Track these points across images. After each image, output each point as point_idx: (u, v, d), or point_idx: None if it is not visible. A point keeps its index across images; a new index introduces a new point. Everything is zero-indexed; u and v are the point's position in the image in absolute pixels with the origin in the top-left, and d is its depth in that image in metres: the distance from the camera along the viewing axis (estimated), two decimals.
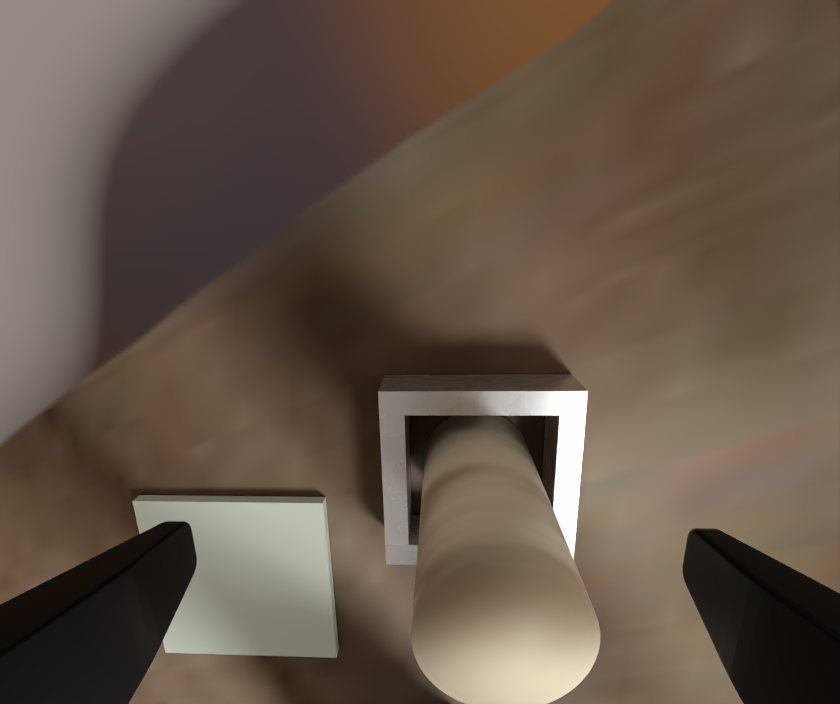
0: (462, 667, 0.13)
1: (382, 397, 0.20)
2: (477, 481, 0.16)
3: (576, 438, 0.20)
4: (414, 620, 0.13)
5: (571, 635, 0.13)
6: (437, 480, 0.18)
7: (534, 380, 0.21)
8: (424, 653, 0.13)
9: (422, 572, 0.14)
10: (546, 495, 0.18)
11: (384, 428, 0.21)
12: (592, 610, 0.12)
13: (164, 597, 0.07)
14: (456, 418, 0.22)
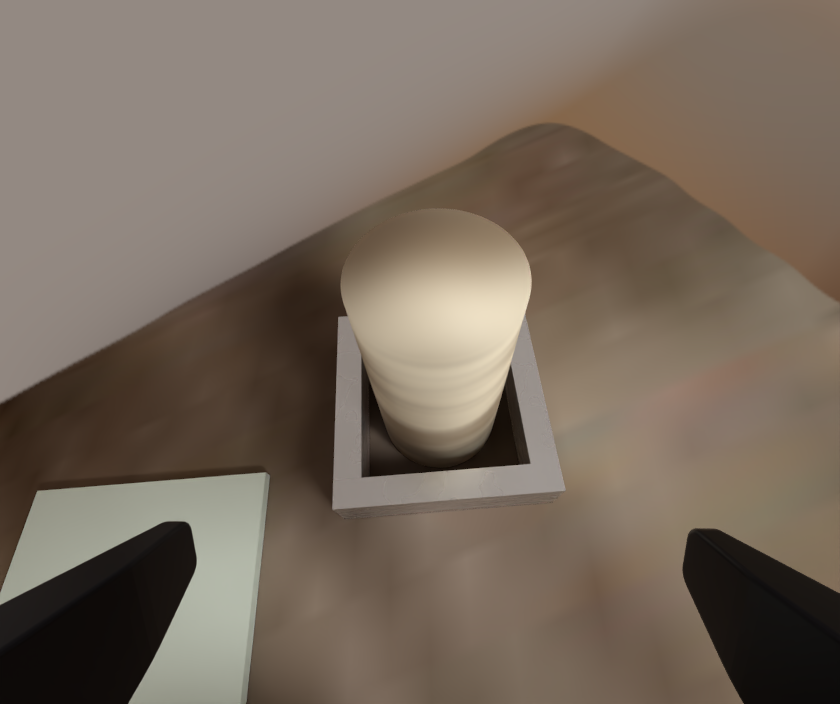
0: (394, 308, 0.12)
1: (341, 321, 0.22)
2: None
3: (524, 340, 0.21)
4: (344, 266, 0.13)
5: (499, 262, 0.13)
6: None
7: None
8: (353, 297, 0.12)
9: None
10: None
11: (341, 347, 0.22)
12: (512, 239, 0.13)
13: (164, 597, 0.07)
14: None
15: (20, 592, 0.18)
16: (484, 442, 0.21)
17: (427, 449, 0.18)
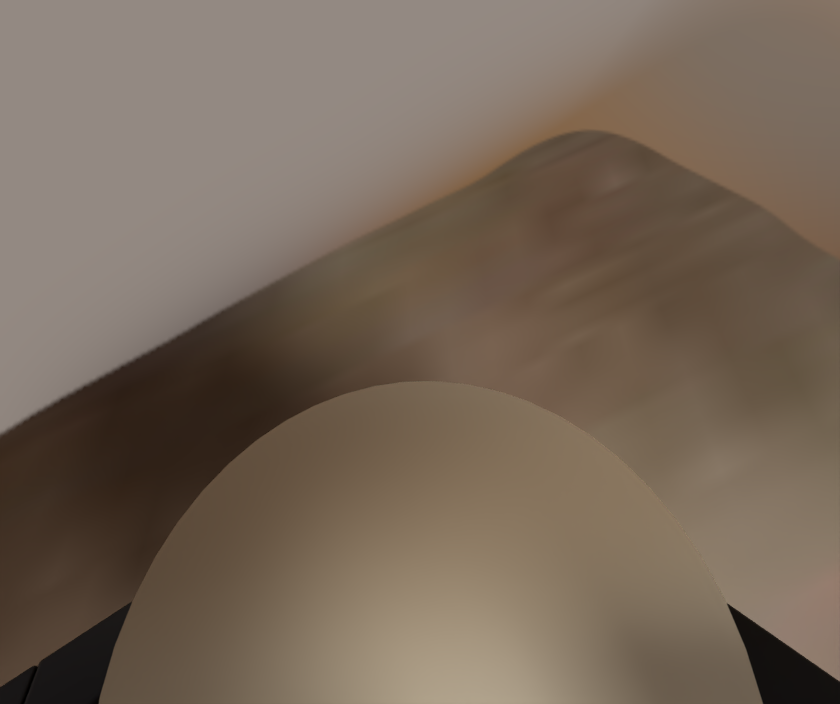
0: None
1: None
2: None
3: None
4: (134, 609, 0.04)
5: (637, 617, 0.04)
6: None
7: None
8: None
9: None
10: None
11: None
12: (662, 510, 0.04)
13: None
14: None
15: None
16: None
17: None
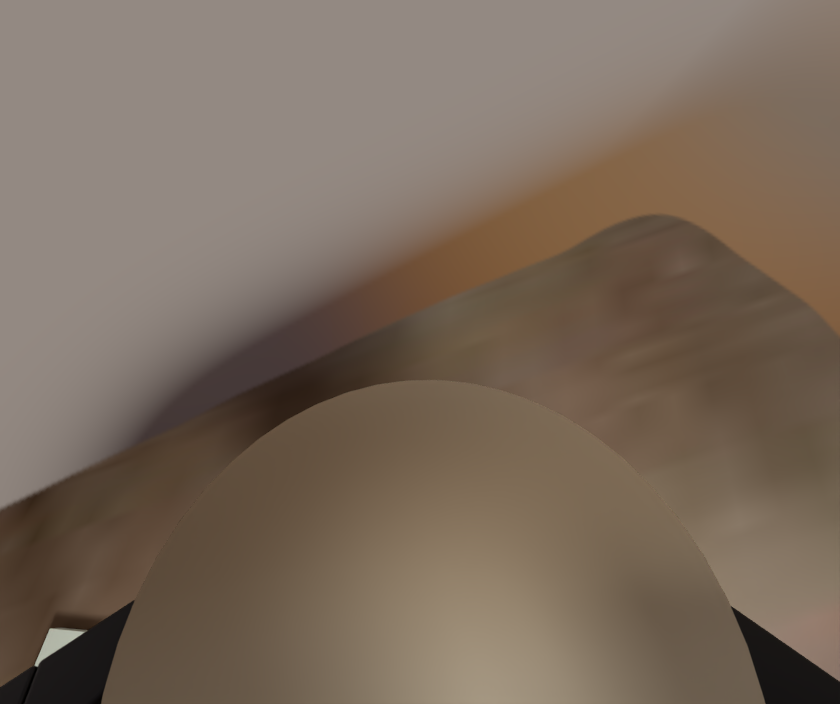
0: None
1: None
2: None
3: None
4: (137, 607, 0.04)
5: (639, 616, 0.04)
6: None
7: None
8: None
9: None
10: None
11: None
12: (663, 508, 0.04)
13: None
14: None
15: None
16: None
17: None
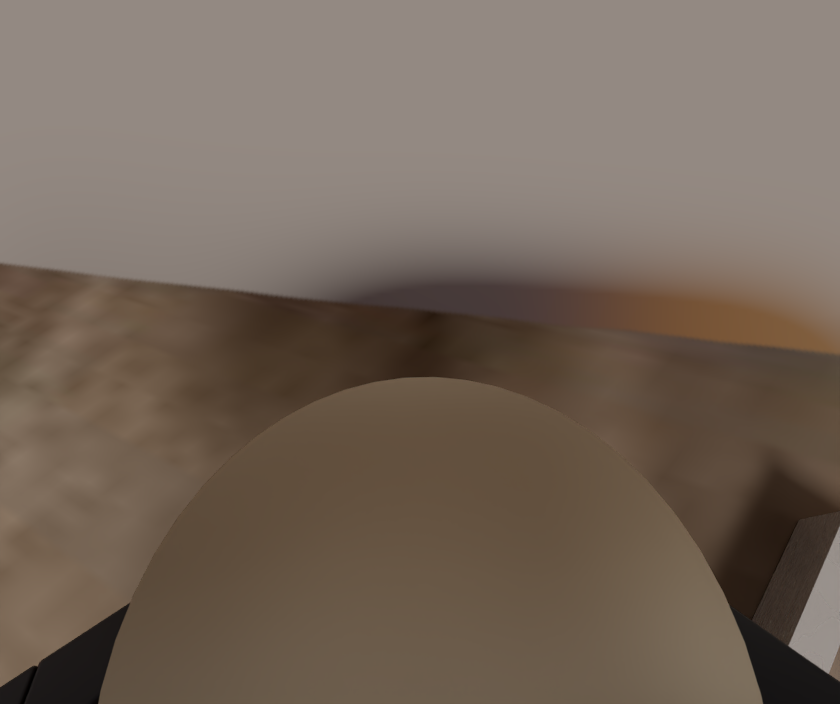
0: None
1: None
2: None
3: None
4: (135, 604, 0.04)
5: (637, 612, 0.04)
6: None
7: None
8: None
9: None
10: None
11: (835, 554, 0.15)
12: (661, 504, 0.04)
13: None
14: None
15: None
16: None
17: None
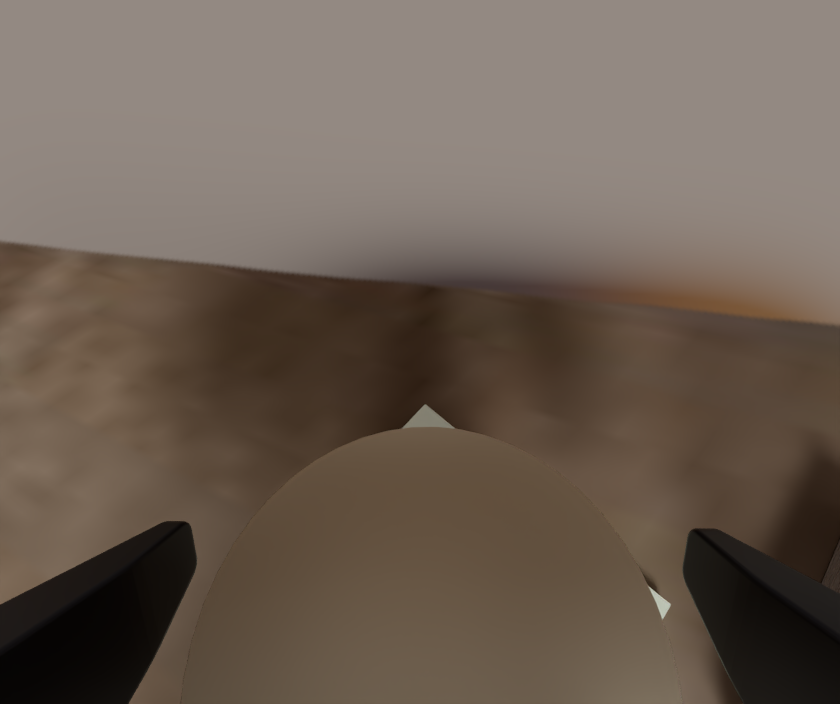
0: None
1: None
2: None
3: None
4: (204, 611, 0.05)
5: (589, 618, 0.05)
6: None
7: None
8: None
9: None
10: None
11: None
12: (613, 533, 0.06)
13: (164, 597, 0.07)
14: None
15: None
16: None
17: None
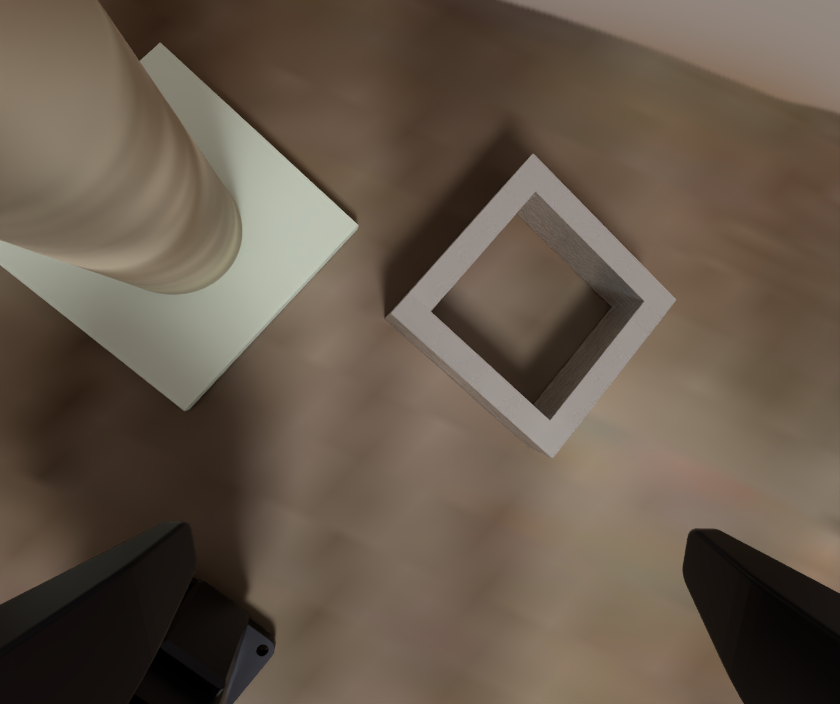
0: None
1: (532, 160, 0.19)
2: None
3: (642, 332, 0.20)
4: None
5: (52, 30, 0.08)
6: None
7: None
8: None
9: None
10: None
11: (510, 186, 0.19)
12: None
13: (164, 597, 0.07)
14: None
15: None
16: (223, 268, 0.18)
17: (126, 281, 0.15)
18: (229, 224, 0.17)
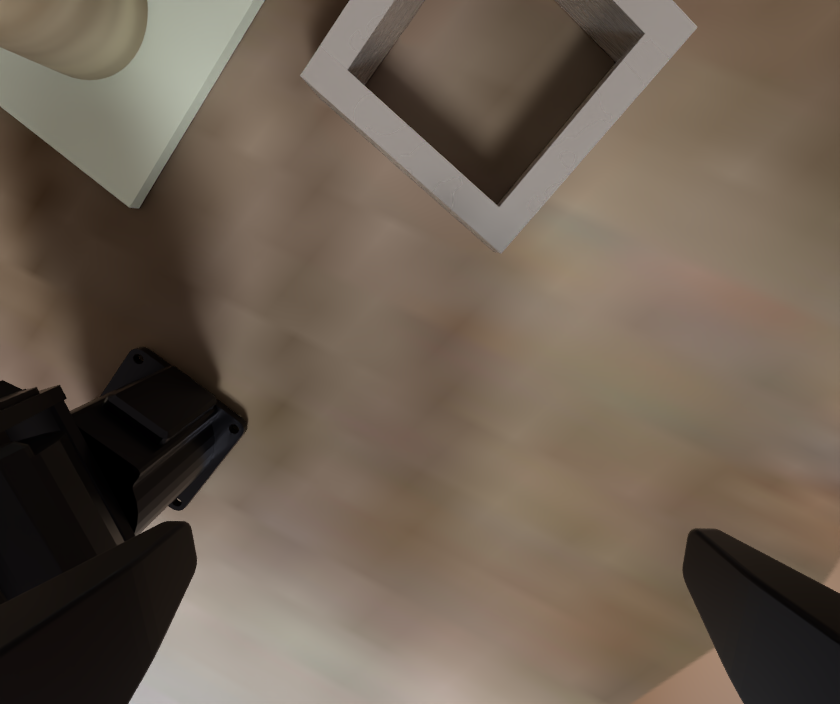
0: None
1: None
2: None
3: (637, 82, 0.15)
4: None
5: None
6: None
7: None
8: None
9: None
10: None
11: None
12: None
13: (164, 597, 0.07)
14: None
15: None
16: (129, 40, 0.16)
17: (14, 50, 0.15)
18: None
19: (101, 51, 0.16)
